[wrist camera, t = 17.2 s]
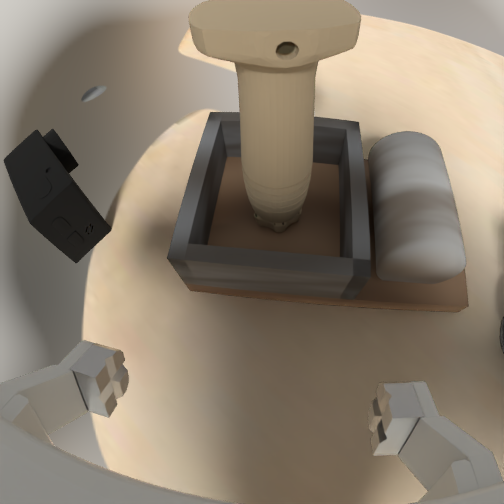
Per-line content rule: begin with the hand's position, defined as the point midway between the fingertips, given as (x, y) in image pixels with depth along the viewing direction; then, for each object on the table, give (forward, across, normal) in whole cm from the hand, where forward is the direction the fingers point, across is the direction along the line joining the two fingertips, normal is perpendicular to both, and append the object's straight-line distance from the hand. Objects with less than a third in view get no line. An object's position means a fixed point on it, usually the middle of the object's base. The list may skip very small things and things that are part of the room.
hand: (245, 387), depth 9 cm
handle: (+15, 0, +2) cm, 15 cm away
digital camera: (+17, -19, +1) cm, 25 cm away
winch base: (+16, +4, +1) cm, 17 cm away
